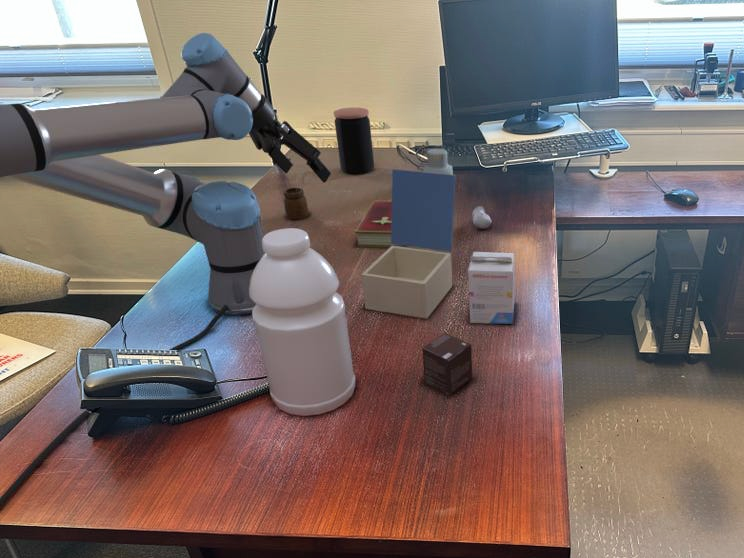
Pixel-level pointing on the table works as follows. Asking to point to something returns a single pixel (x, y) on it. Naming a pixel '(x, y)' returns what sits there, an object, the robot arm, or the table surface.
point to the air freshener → (438, 162)
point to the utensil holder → (295, 202)
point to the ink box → (491, 287)
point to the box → (447, 363)
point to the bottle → (301, 326)
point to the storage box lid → (422, 209)
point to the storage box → (407, 281)
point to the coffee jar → (354, 140)
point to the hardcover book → (376, 226)
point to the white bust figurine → (481, 218)
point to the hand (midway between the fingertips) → (307, 173)
